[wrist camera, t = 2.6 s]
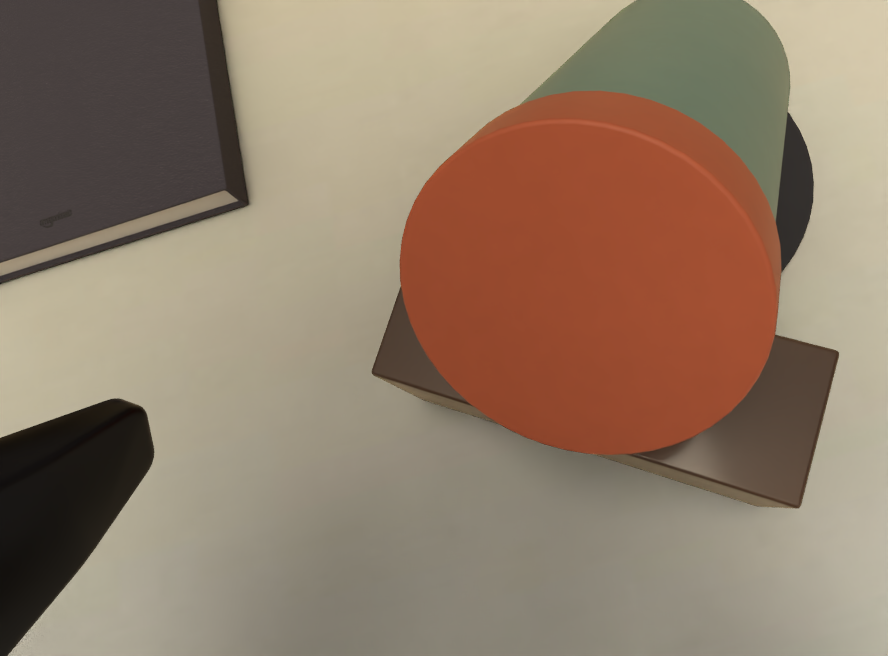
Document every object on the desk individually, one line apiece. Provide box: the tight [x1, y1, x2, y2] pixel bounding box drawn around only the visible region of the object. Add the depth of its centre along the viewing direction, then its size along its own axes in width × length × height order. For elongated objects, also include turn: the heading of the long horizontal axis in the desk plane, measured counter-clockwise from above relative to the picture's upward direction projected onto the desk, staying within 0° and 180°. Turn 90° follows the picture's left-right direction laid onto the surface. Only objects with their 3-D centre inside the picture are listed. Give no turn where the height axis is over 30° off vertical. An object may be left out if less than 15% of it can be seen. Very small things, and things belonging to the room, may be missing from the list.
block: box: [372, 287, 839, 508], centre depth 20 cm, size 4×10×5 cm, turn 71°
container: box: [400, 0, 790, 455], centre depth 16 cm, size 12×6×12 cm, turn 161°
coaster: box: [776, 112, 814, 272], centre depth 23 cm, size 9×9×1 cm
